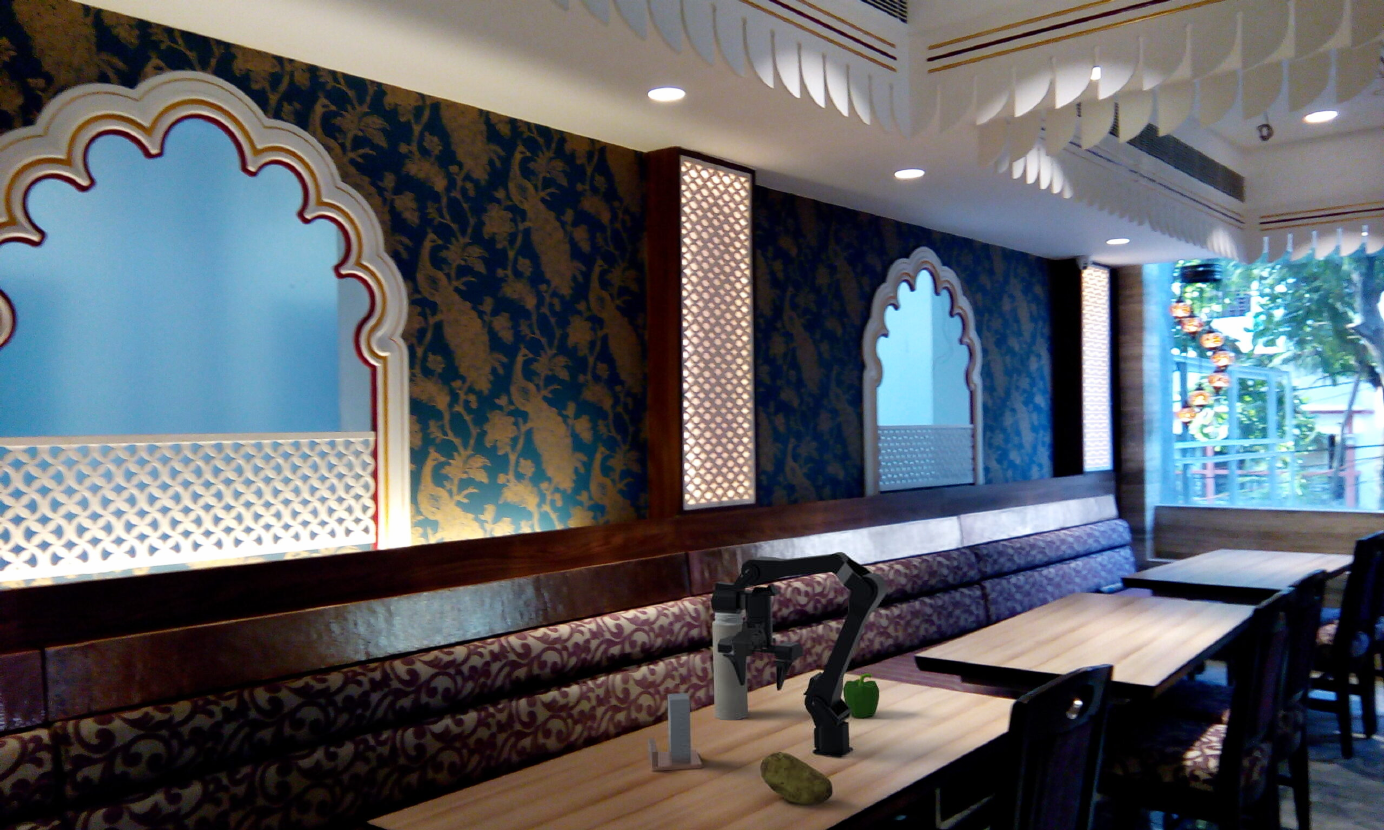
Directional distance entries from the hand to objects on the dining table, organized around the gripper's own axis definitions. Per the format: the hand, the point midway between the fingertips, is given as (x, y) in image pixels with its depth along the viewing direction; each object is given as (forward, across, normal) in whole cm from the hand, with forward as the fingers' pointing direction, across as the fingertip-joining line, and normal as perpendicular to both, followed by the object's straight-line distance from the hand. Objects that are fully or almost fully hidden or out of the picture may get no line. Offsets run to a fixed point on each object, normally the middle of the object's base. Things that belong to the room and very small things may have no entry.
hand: (760, 687), depth 220 cm
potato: (+12, +23, -27) cm, 37 cm away
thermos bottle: (+12, -18, +16) cm, 27 cm away
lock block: (+11, -8, -19) cm, 24 cm away
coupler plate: (+12, -9, -20) cm, 25 cm away
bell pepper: (+12, +9, +31) cm, 35 cm away
